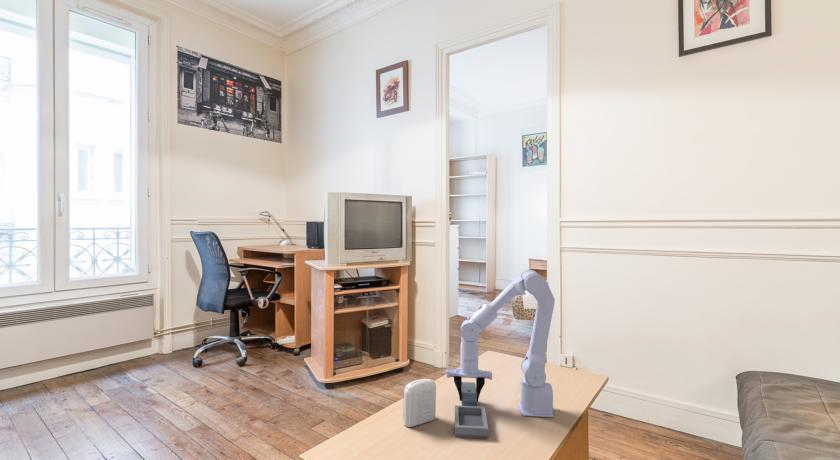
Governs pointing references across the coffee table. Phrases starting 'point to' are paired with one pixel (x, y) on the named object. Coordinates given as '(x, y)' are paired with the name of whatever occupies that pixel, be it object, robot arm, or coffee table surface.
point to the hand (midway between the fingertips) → (468, 399)
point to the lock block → (469, 394)
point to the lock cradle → (471, 422)
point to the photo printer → (419, 402)
